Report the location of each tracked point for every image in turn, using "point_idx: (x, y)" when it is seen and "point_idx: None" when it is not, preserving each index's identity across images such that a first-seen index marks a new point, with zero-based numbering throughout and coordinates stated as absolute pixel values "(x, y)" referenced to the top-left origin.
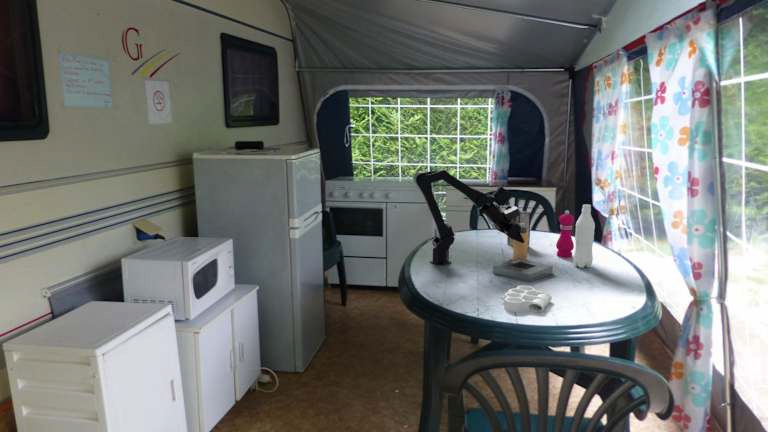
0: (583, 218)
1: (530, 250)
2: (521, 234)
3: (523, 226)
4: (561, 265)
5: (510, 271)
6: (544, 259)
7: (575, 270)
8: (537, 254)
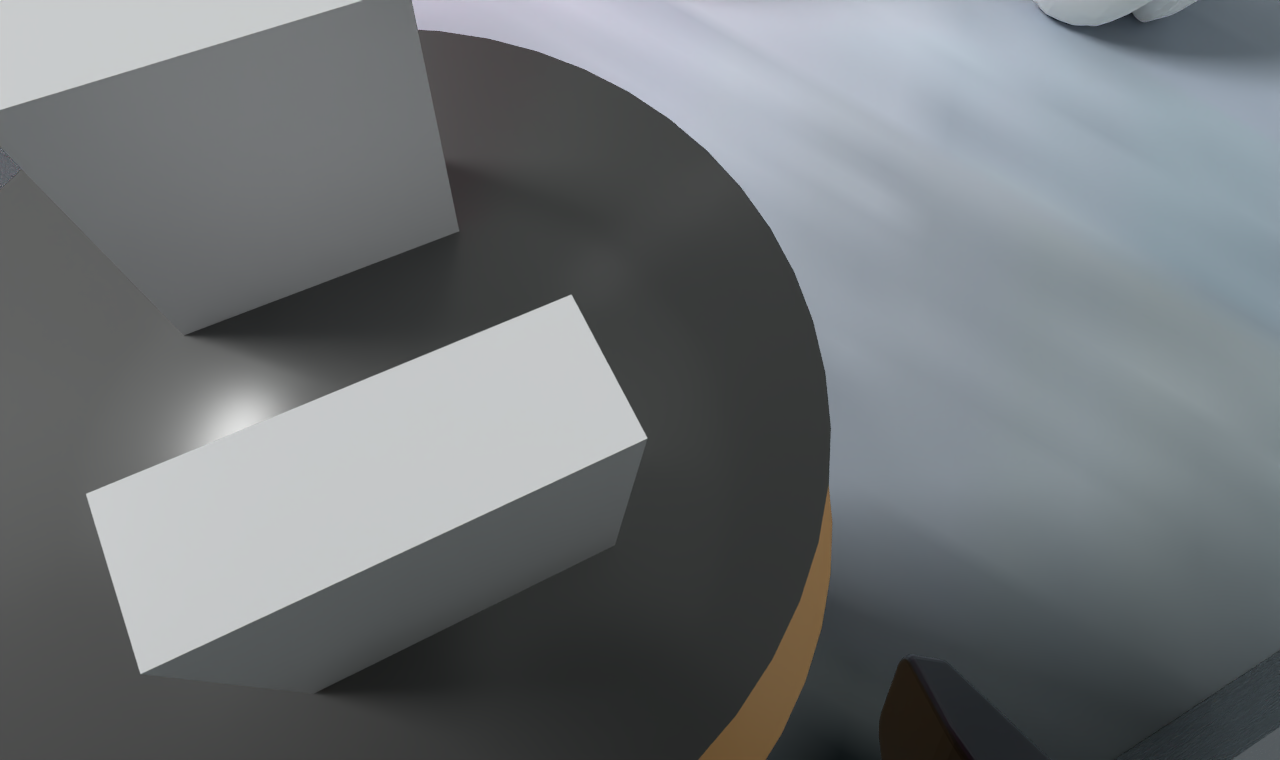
0: None
1: None
2: (791, 690)
3: (428, 207)
4: (1004, 164)
5: None
6: None
7: (1263, 138)
8: None
